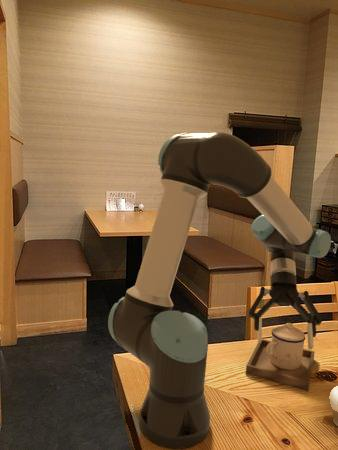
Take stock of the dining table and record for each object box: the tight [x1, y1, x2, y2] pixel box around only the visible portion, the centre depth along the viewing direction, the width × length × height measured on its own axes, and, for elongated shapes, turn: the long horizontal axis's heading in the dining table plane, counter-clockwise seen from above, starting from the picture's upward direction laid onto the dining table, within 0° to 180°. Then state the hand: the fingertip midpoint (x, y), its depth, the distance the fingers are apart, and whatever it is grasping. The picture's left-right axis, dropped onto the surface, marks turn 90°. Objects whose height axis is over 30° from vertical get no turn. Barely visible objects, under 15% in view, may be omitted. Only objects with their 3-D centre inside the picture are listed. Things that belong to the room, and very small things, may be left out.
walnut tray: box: [245, 338, 316, 392], centre depth 107 cm, size 16×18×2 cm
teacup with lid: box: [266, 322, 306, 370], centre depth 106 cm, size 12×9×12 cm
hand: (285, 345), depth 103 cm, fingers open, 13 cm apart
